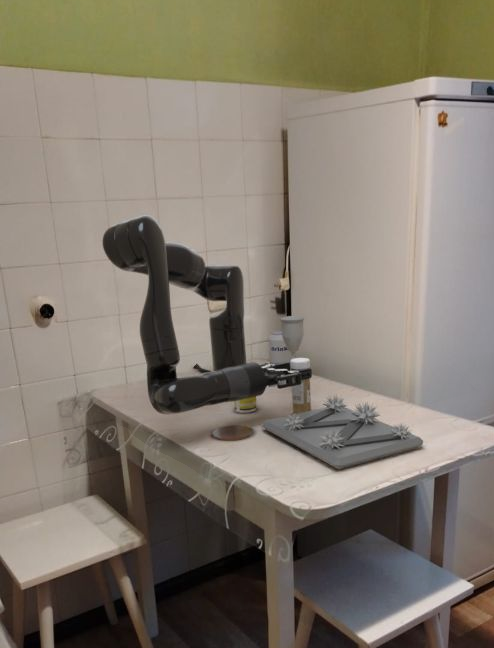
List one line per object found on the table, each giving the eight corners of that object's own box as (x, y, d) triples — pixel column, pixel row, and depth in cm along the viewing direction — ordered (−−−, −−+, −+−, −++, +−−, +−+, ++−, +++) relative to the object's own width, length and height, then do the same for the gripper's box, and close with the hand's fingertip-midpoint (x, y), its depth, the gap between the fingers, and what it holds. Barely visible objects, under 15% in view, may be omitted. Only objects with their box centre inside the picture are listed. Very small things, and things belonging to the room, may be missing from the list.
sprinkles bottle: (315, 415, 152) (313, 359, 147) (299, 419, 149) (297, 362, 145) (303, 411, 155) (302, 356, 151) (288, 414, 153) (286, 359, 148)
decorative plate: (260, 431, 143) (258, 400, 140) (339, 413, 152) (339, 384, 150) (336, 473, 118) (336, 436, 115) (426, 449, 127) (427, 414, 125)
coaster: (207, 431, 144) (207, 429, 144) (244, 424, 147) (244, 422, 147) (220, 443, 136) (220, 441, 136) (259, 435, 140) (259, 433, 140)
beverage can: (268, 374, 191) (266, 334, 187) (272, 369, 197) (270, 330, 193) (291, 374, 190) (290, 334, 186) (294, 369, 196) (293, 329, 192)
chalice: (307, 384, 178) (305, 319, 172) (282, 385, 178) (279, 320, 172) (306, 378, 185) (304, 315, 179) (282, 379, 185) (279, 316, 179)
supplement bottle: (261, 409, 158) (259, 370, 155) (245, 414, 155) (243, 375, 151) (245, 405, 162) (243, 367, 158) (230, 411, 158) (227, 372, 155)
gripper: (256, 371, 133) (318, 358, 141) (222, 360, 145) (281, 349, 153) (258, 405, 136) (319, 391, 144) (225, 392, 147) (283, 380, 155)
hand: (299, 369), depth 148 cm, fingers open, 8 cm apart
